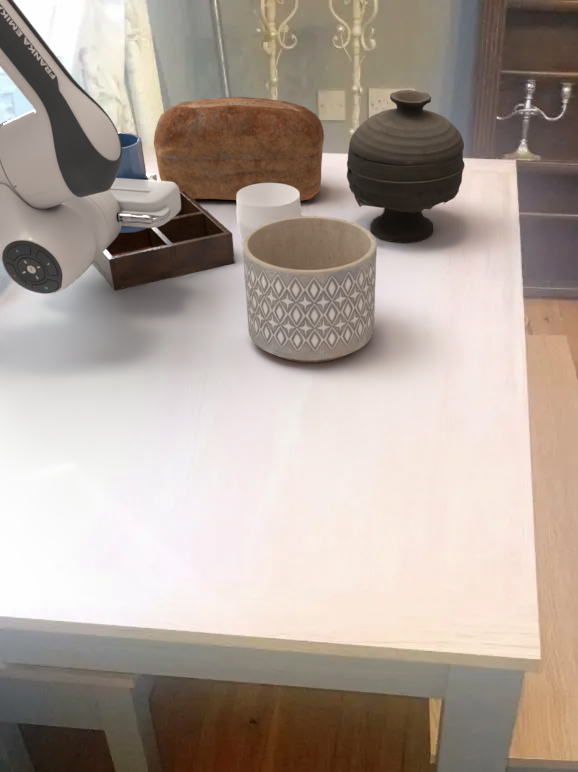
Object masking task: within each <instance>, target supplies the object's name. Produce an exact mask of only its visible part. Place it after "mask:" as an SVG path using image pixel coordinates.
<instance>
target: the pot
mask: <svg viewBox="0 0 578 772" xmlns="http://www.w3.org/2000/svg"><path fill="white" fill-rule="evenodd" d="M389 99H390V101H391V102H392V103H393V104H395V105H396V107H395V108H389V109H385V110H382V111H380V112H378V113H375V114H373V115H371V116H370V117H368V118H367V119H365V120H364V121H363V122H362V123H361V124H360V125H359V126H357V128H356V129H355V130H354V132H353V134H352V135H351V137H350V140H349V144H348V145H349V147H348V151H347V161H346V167H347V172H346V179H347V182H348V187H349V189H350V192H351V193H352V194H353V196H354V200H355V201H356V203H357V205H358V206H359V208H361V207H372V208H379V209H383V212H382V213H381V214H380V215H378V216H376V217H374V218H372V219H373V220H372V221H371V222H370V227H369V231H370V232H371V233H372V235H373V236H374V237H375V238H378V239H381V240H384V241H387V242H393V243H402V244H406V243H407V244H408V243H417V242H422V241H423V240H426V239H428V238H429V237H431V236H432V235H433V233H434V232H435V228H434V227H435V226H434V222H433V221H432V220H431V219H430V218H428V217H426V216H424V214H423V211H424V210H432V208H434V207H435V206H437V205H440V204H442V203H443V204H446V203H448V202H450V201H451V200H453V199H455V198H456V197H457V195H458V194H459V191H460V187H461V185H462V182H463V173H464V169H465V161H464V149H465V142H464V139H463V137H462V134H461V132H460V131H459V130H458V129H457V127H456V126H455V125H454V124H453V123H452V122H451V121H450V120H449V119H448V118H446V117H444V116H443V115H440V114H439V113H437V112H434V111H430V110H427V109H424V107H425V106H426V105H427V104H430V103H431V102H432V97H431V95H430V94H429V93H428V92H421V91H417V90H412V89H411V90H410V89H403V90H402V89H401V90H397V91H395V92H391V93H390V94H389Z"/></svg>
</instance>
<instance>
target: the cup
mask: <svg viewBox="0 0 578 772" xmlns="http://www.w3.org/2000/svg"><path fill="white" fill-rule="evenodd" d="M235 201H236V222H237V227H238V232H239V236H240V241H241V246H242V247H243V240H244V239H245V237H246V236H247V235H248V233H249V232H251V231H252V230H253V229H255V228H257V227H259V226H261V225H263V224H265V223H268V222H271V221H275V220H279V219H284V218H290V217H300V216H303V215H302V208H301V206H302V205H301V201H300V193H299V191H298V190H297V189H296V188H294V187H292V186H289V185H286V184H280V183H259V184H253V185H249V186H246V187H244V188H242V189H240V190H239V191H238V192H237V194H236V200H235Z"/></svg>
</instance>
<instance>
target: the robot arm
mask: <svg viewBox="0 0 578 772" xmlns="http://www.w3.org/2000/svg"><path fill="white" fill-rule="evenodd" d="M0 68H1V69H2V70H3V72H4V73H5V75H7V77H8V78H9V79H10V80H11V81H12V83H13V84H14V85H15V87H17V89H18V90H19V91H20V93H21V94H22V95H23V96H24V97H25V98H26V100H27V101H28V103H29V104H30V105H31V107H33V109H32V110H31V111H28V112H25V113H24V114H22V115H21V114H20V115H19V116H17V117H15V118H12V119H10V120H6V121H2V122H1V123H0V260H1V264H2V266H3V268H4V270H5V273H6V274H7V275H8V276H9V278H10V279H11V280H12V281H14V283H16V284H17V285H18V286H19V287H21V288H23V289H25V290H27V291H30V292H33V293H36V294H43V295H46V294H47V295H49V294H55V293H59V292H62V291H63V290H65V289H67V288H69V286H71V285H73V283H75V282H76V281H77V280H78V279H79V278H81V277H82V276H83V275H84V273H86V272H87V271H88V270H89V268H90V267H91V266H92V264H93V261H94V259H95V258H97V257H98V256H100V255H101V254H102V253H103V252H104V251H105V249H106V248H107V247H108V246H109V245H110V244H111V243H112V242H113V241H114V239H115V238H116V237H117V236H118V234H119V232H120V230H121V226H132V227H144V228H154V227H159V226H162V225H164V224H165V223H167V222H168V221H170V220H171V219H172V218H173V217H175V216H176V215H177V214H178V213H179V212H180V210H181V198H180V191H179V187H178V186H177V185H176V184H175V183H174V182H168V181H161V180H158V177H157V174H156V173H146V174H145V175H143V176H142V180H140V179H126V178H116V177H117V174H118V172H119V168H120V165H121V159H122V143H121V139H120V136H119V134H118V133H119V132H118V131H119V130H118V129H117V128H116V125H115V123H114V122H113V120H112V119H111V117H110V116H109V114H108V113H107V112H106V111H105V110H104V108H103V107H102V106H101V105H100V104H99V103H98V102H97V101H96V100H95V99H94V97H92V96H91V95H90V94H89V93H88V92H87V91H86V90H85V89H84V88H83V87H82V86H81V85H80V84H79V82H77V80H76V79H75V78H74V77H73V75H72V74H70V72H69V71H68V69H67V68H66V67H65V65H63V63H62V62H61V60H60V59H59V58H58V56H57V55H56V54H55V52H54V51H53V50H52V49H51V47H50V46H49V44H47V42H46V41H45V40H44V38H43V37H42V36H41V34H40V33H39V32H38V30H37V29H36V28H35V27H34V25H33V24H32V23H31V21H30V20H29V18H28V17H27V16H26V14H24V12H23V11H22V10H21V8H20V7H19V6H18V5H17V3H16V2H15V1H14V0H0Z"/></svg>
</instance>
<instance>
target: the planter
mask: <svg viewBox="0 0 578 772" xmlns="http://www.w3.org/2000/svg"><path fill="white" fill-rule="evenodd" d="M377 247H378V245H377V239H376V236H375V235H373V234H372V232H371V231H370V230H369V229H367V228H366V227H364V226H362V225H360V224H358V223H355V222H353V221H351V220H346V219H342V218H337V217H331V216H319V215H302V216H300V217H290V218H284V219H279V220H275V221H271V222H268V223H265V224H263V225H261V226H259V227H257V228H255V229H253V230H252V231H251V232H249V233H248V235H247V236H246V237H245V239H244V240H243V246H242V259H243V272H244V285H245V299H246V313H247V325H248V326H247V327H248V334H249V338H250V339H251V341H252V342H253V343H254V345H256V347H259V348H260V349H261V350H263V351H265V352H267V353H269V354H271V355H274V356H277V357H279V358H282V359H284V360H288V361H291V362H298V363H325V362H330V361H334V360H338V359H341V358H343V357H346V356H347V355H350V354H353V353H354V352H356V351H358V350H360V349H362V348H363V347H364V346H366V344H368V342H370V340H371V339H372V338H373V335H374V331H375V308H376V306H375V304H376V280H377V279H376V275H377V249H378V248H377Z"/></svg>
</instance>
